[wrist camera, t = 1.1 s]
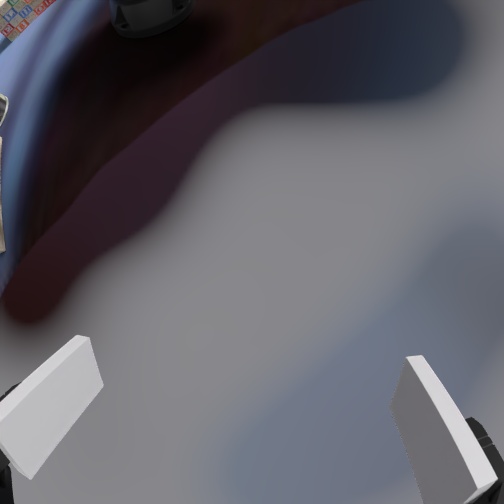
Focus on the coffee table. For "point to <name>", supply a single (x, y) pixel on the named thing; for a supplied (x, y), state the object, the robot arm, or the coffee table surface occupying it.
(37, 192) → the coffee table surface
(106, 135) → the coffee table surface
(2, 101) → the coffee can
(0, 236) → the base board
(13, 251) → the coffee table surface
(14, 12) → the stack of blocks
